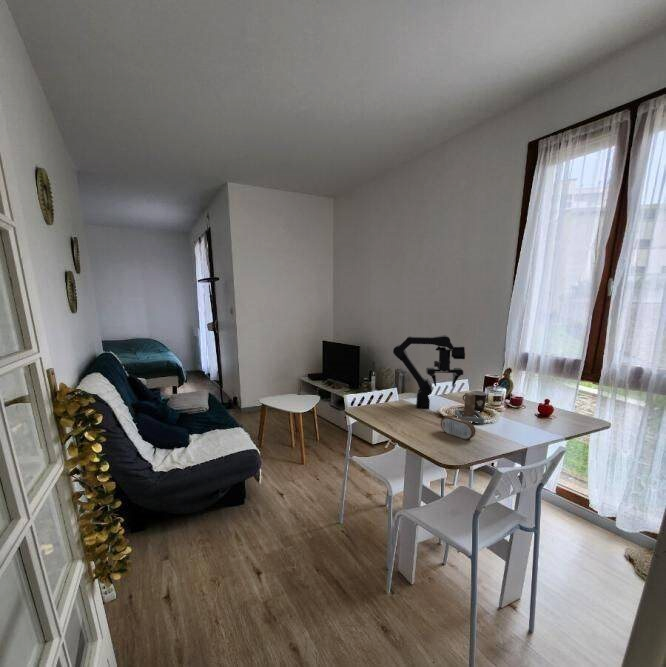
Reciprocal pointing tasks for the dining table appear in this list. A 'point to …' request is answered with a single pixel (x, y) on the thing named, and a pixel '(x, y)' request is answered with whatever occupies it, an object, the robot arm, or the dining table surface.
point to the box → (475, 419)
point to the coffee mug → (479, 400)
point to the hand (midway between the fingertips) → (444, 386)
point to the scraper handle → (469, 405)
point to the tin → (458, 427)
